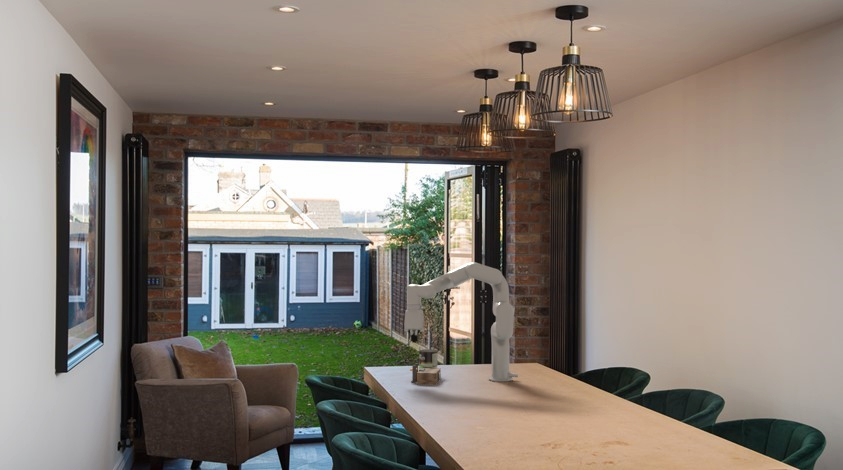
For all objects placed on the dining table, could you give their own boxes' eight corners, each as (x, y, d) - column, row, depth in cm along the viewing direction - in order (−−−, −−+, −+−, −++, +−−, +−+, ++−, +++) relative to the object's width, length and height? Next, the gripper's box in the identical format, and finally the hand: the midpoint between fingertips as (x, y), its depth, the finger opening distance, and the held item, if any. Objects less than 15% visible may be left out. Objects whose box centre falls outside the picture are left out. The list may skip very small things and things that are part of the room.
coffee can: (423, 378, 430) (423, 352, 430) (415, 375, 439) (416, 349, 439) (440, 376, 434) (440, 351, 434) (432, 374, 444) (432, 349, 444)
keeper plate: (417, 379, 421) (417, 367, 421) (416, 380, 416) (416, 369, 416) (411, 379, 421) (411, 367, 421) (410, 380, 416) (410, 369, 417)
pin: (440, 379, 419) (440, 372, 419) (439, 380, 415) (439, 373, 415) (418, 379, 420) (418, 371, 420) (417, 380, 416) (417, 372, 416)
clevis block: (440, 379, 426) (440, 362, 426) (436, 384, 408) (436, 367, 408) (414, 378, 428) (415, 361, 428) (409, 384, 410) (409, 366, 410)
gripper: (429, 307, 422) (429, 341, 422) (401, 307, 424) (401, 341, 424) (427, 308, 415) (427, 343, 414) (398, 308, 417) (399, 343, 416)
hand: (414, 342), depth 419 cm, fingers closed
